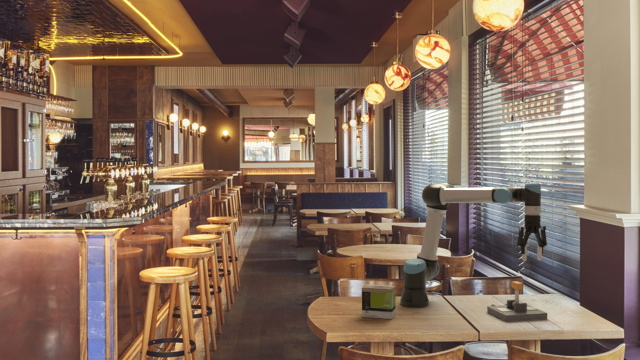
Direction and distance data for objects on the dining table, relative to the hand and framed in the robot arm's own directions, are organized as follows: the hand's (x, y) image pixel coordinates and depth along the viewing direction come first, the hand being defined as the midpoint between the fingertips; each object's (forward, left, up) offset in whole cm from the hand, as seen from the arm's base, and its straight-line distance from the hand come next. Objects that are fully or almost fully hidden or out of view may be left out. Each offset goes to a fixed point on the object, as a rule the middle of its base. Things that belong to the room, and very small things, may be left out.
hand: (531, 260), depth 290 cm
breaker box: (-8, +4, -27) cm, 29 cm away
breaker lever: (-8, 0, -24) cm, 25 cm away
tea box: (-75, +13, -27) cm, 81 cm away
